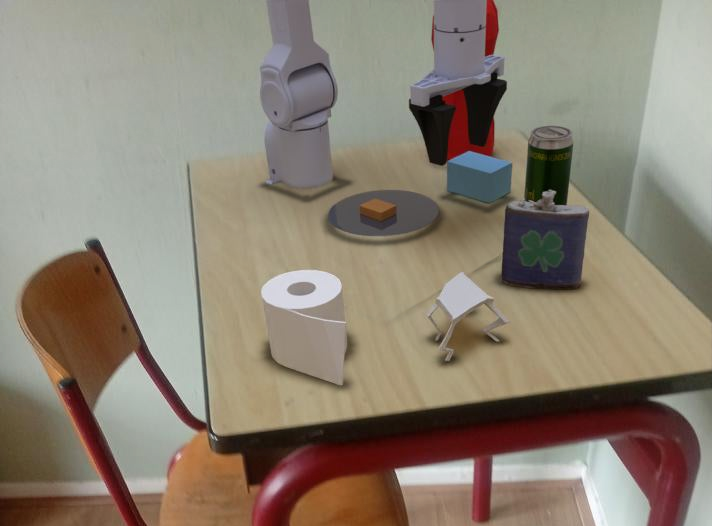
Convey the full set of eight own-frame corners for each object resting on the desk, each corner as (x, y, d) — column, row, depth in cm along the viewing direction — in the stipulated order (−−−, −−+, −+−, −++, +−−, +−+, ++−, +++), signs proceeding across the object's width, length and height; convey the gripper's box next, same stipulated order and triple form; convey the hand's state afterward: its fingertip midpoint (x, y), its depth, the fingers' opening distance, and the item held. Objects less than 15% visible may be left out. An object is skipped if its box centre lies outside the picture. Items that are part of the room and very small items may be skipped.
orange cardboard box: (359, 214, 108) (359, 205, 107) (375, 206, 110) (374, 198, 109) (381, 221, 106) (380, 212, 105) (396, 214, 107) (396, 205, 107)
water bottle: (427, 173, 120) (425, -25, 103) (436, 147, 128) (435, -41, 111) (490, 174, 119) (497, -27, 102) (495, 147, 126) (503, -43, 109)
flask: (581, 280, 94) (592, 188, 86) (578, 292, 92) (590, 199, 84) (502, 273, 96) (507, 183, 89) (498, 285, 94) (502, 194, 87)
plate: (305, 223, 109) (304, 216, 108) (381, 188, 117) (381, 181, 116) (386, 253, 101) (385, 246, 101) (461, 214, 109) (461, 206, 108)
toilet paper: (341, 385, 80) (335, 324, 76) (255, 356, 85) (244, 296, 80) (386, 347, 85) (382, 287, 80) (302, 321, 90) (294, 263, 85)
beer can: (572, 229, 104) (584, 131, 95) (544, 242, 101) (553, 143, 93) (541, 217, 107) (550, 121, 99) (513, 229, 104) (519, 133, 96)
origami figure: (515, 357, 83) (518, 314, 79) (435, 366, 82) (434, 323, 79) (490, 301, 91) (492, 260, 88) (417, 309, 91) (416, 268, 87)
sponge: (446, 197, 113) (446, 161, 110) (468, 186, 116) (469, 150, 112) (489, 210, 109) (490, 173, 106) (510, 199, 112) (512, 162, 108)
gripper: (444, 46, 83) (444, 179, 92) (528, 17, 90) (520, 143, 99) (394, 37, 86) (399, 166, 96) (479, 9, 94) (475, 132, 103)
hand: (457, 153), depth 98 cm, fingers open, 7 cm apart
